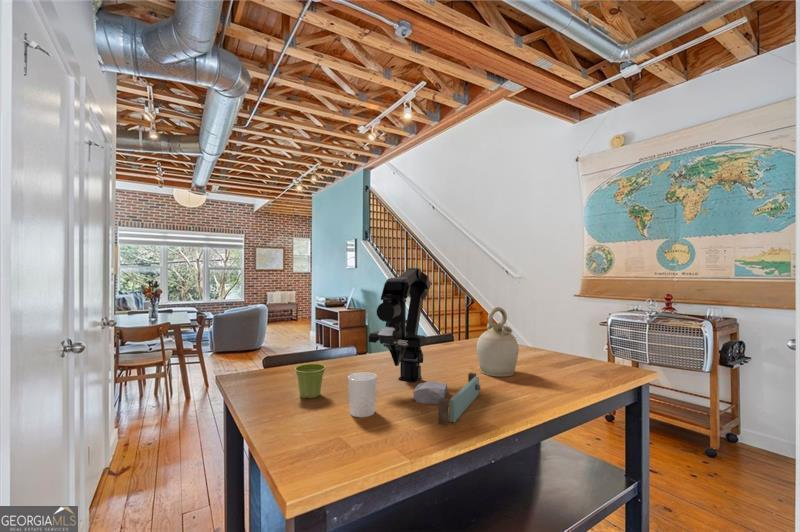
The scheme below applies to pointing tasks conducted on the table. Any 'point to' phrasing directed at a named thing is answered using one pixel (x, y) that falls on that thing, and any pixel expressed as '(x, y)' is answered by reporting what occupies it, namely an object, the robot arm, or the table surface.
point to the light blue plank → (444, 405)
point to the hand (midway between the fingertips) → (396, 365)
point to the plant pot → (310, 379)
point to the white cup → (362, 393)
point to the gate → (464, 398)
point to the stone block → (430, 392)
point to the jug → (497, 348)
